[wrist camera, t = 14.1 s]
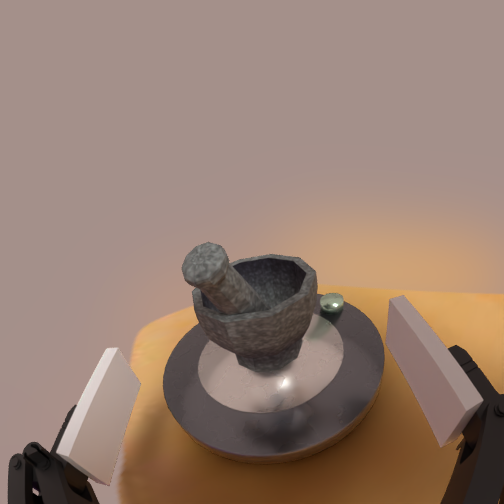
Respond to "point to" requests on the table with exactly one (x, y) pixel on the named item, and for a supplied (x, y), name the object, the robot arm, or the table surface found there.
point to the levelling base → (278, 389)
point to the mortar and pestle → (252, 304)
